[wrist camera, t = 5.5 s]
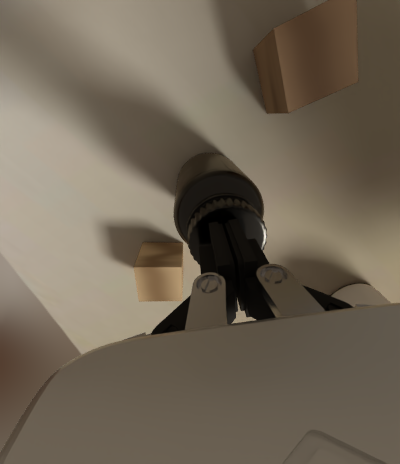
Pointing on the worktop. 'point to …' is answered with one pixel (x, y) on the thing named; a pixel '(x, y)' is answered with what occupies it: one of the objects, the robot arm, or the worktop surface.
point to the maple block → (159, 271)
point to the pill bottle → (360, 295)
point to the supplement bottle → (216, 201)
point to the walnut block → (309, 56)
